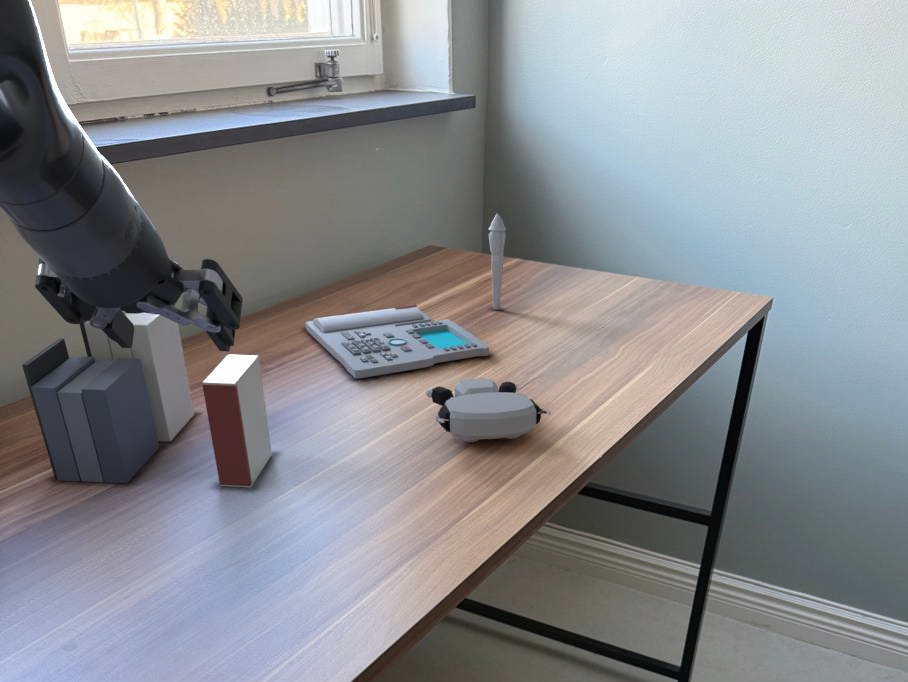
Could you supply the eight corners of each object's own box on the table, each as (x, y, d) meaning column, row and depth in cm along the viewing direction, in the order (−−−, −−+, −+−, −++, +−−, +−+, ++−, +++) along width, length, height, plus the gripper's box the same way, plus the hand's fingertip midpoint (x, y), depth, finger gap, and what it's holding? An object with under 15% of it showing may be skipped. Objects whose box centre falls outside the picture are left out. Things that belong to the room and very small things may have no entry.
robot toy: (421, 413, 112) (443, 456, 100) (419, 376, 110) (442, 415, 97) (518, 406, 114) (551, 447, 102) (519, 369, 112) (553, 407, 99)
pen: (501, 312, 143) (503, 215, 134) (485, 310, 143) (486, 214, 135) (506, 308, 145) (508, 212, 136) (490, 306, 145) (491, 210, 137)
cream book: (220, 486, 94) (201, 382, 88) (243, 453, 101) (228, 354, 94) (250, 488, 94) (234, 384, 87) (272, 454, 100) (258, 355, 94)
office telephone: (302, 312, 134) (428, 296, 141) (304, 330, 136) (428, 313, 142) (354, 360, 117) (494, 339, 124) (355, 380, 118) (494, 358, 125)
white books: (107, 439, 103) (76, 313, 95) (135, 411, 110) (108, 291, 101) (170, 442, 103) (144, 315, 95) (194, 414, 109) (172, 293, 101)
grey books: (52, 480, 95) (19, 366, 88) (89, 444, 102) (61, 336, 95) (127, 483, 94) (99, 369, 87) (159, 447, 102) (136, 339, 95)
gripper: (194, 175, 62) (264, 301, 78) (-9, 171, 63) (102, 296, 79) (181, 278, 61) (255, 384, 77) (-25, 272, 62) (90, 378, 78)
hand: (177, 339), depth 78 cm, fingers open, 8 cm apart
